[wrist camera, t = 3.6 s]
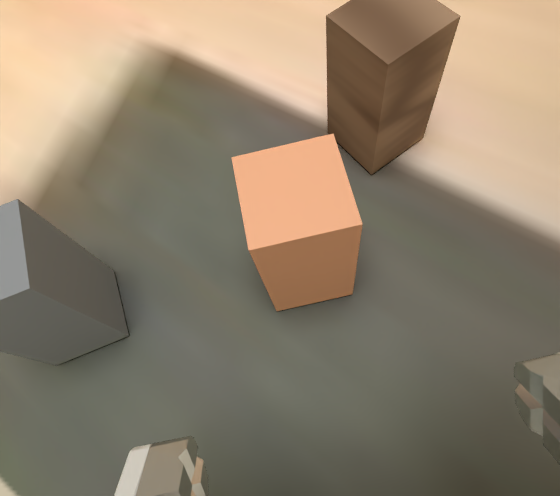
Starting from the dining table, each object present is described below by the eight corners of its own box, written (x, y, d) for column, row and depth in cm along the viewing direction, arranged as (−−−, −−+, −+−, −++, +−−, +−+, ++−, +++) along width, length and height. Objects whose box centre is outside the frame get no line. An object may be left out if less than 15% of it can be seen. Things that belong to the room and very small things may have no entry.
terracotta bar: (333, 226, 26) (333, 133, 18) (352, 294, 24) (362, 224, 16) (263, 243, 26) (231, 157, 18) (276, 311, 25) (248, 250, 16)
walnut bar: (377, 98, 30) (394, -28, 22) (423, 137, 28) (460, 16, 20) (327, 132, 29) (326, 15, 21) (371, 174, 27) (388, 64, 19)
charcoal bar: (113, 270, 27) (17, 199, 19) (129, 335, 25) (29, 288, 17) (46, 297, 27) (-81, 236, 18) (56, 365, 25) (-80, 331, 17)
